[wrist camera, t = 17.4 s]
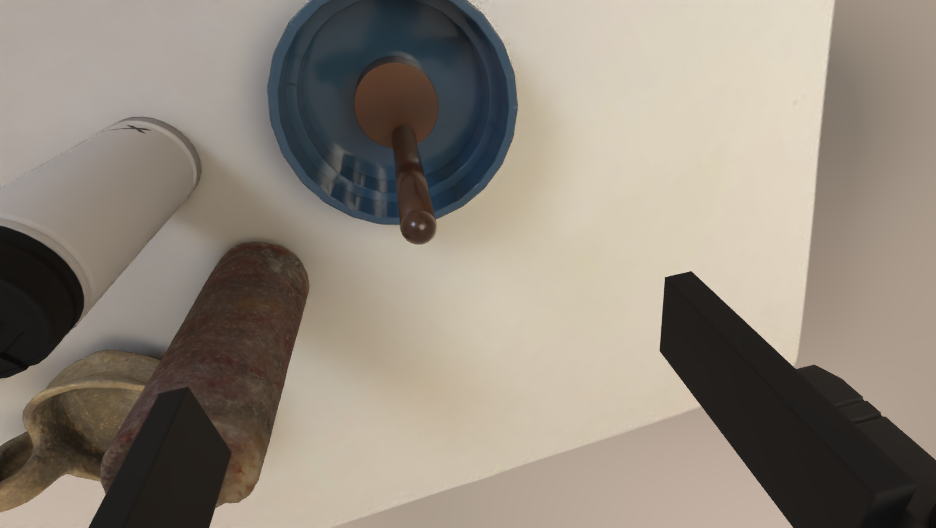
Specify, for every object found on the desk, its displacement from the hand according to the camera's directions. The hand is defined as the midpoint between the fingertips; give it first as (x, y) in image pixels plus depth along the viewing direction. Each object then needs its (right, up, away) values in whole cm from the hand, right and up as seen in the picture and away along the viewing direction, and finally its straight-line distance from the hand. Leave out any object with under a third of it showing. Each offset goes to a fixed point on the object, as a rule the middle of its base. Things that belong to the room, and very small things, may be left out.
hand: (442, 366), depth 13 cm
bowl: (-31, -9, +31) cm, 45 cm away
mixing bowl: (-5, +15, +22) cm, 27 cm away
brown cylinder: (-16, +2, +27) cm, 32 cm away
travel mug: (-22, +11, +21) cm, 32 cm away
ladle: (-4, +15, +21) cm, 26 cm away
